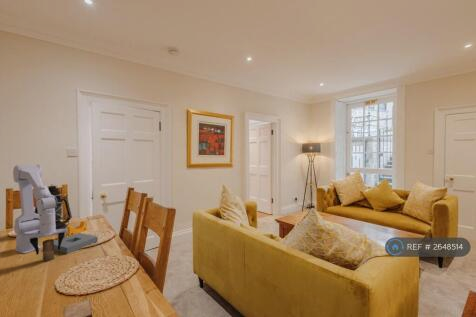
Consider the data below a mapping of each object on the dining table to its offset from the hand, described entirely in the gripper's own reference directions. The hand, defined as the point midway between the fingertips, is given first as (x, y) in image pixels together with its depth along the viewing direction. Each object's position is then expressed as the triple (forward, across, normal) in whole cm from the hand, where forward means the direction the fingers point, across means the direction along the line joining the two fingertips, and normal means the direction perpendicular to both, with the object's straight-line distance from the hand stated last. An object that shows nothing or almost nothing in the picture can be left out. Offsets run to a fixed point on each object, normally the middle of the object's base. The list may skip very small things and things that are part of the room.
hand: (48, 251), depth 106 cm
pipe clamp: (+4, +12, +34) cm, 36 cm away
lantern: (+4, +1, +49) cm, 49 cm away
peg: (+4, 0, 0) cm, 4 cm away
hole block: (+4, +10, +13) cm, 17 cm away
